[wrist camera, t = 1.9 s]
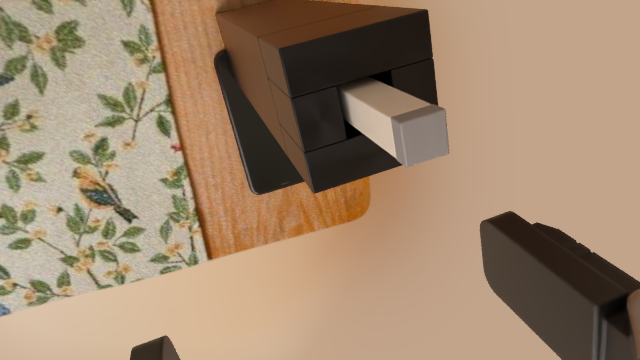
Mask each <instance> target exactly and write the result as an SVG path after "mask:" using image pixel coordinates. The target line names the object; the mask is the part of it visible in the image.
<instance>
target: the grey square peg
mask: <svg viewBox="0 0 640 360" xmlns="http://www.w3.org/2000/svg"><path fill="white" fill-rule="evenodd" d="M335 86H336V87H337V91H338V96H339V101H340V106H341V111H342V116H343V119H344V120H346V121H347V122H348V123H350V124H351V125H352V126H354V127H355V128H356V129H358V130H359V131H360V132H362V133H363V134H364V135H366V136H367V137H368V138H370V139H371V140H372V141H374V142H375V143H376V144H378V145H379V146H380V147H382V148H383V149H384V150H385V151H387V152H388V153H389V154H391V155H392V156H393V157H395V158H396V159H397V161H398V162H400V163H401V164H402V165H404V166H405V167H411V166H414V165H417V164H420V163H423V162H426V161H429V160H432V159H435V158H439V157H441V156H445V155H447V154H449V144H448V133H447V123H446V113H445V109H444V108H442V107H439V106H437V105H435V104H432V105H431V104H429V103H427V102H425V101H423V100H420V99H418V98H416V97H414V96H411V95H409V94H407V93H404V92H402V91H400V90H398V89H395V88H393V87H391V86H389V85H386V84H384V83H382V82H379V81H377V80H375V79H373V78H370V77H368V76H367V77H363V78H360V79H356V80H353V81H349V82H346V83H342V84H339V85H335Z"/></svg>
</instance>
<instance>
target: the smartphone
mask: <svg viewBox="0 0 640 360" xmlns="http://www.w3.org/2000/svg"><path fill="white" fill-rule="evenodd" d="M214 66H215V70H216V73H217V77H218V80H219V84H220V87H221V91H222V94H223V98H224V101H225V105H226V108H227V111H228V115H229V118H230V122H231V125H232V129H233V132H234V136H235V139H236V142H237V146H238V149H239V154H240V157H241V161H242V164H243V167H244V170H245V174H246V177H247V180H248V184H249V187H250V190H251V191H252V192H253V193H254V194H256V195H262V194H265V193H269V192H272V191H275V190H278V189H282V188H285V187H288V186H291V185H295V184H298V183H301V182H304V179H303V178H302V176H301V175H300V173H299V172H298V171H297V169H296V168H295V166H294V165H293V163H292V162H291V160H290V159H289V158H288V156H287V155H286V153H285V152H284V150H283V149H282V148H281V146H280V145H279V143H278V142H277V140H276V139H275V137H274V136H273V135H272V133H271V132H270V130H269V129H268V127H267V126H266V124H265V123H264V122H263V120H262V119H261V117H260V116H259V114H258V113H257V111H256V110H255V109H254V107H253V106H252V104H251V103H250V101H249V100H248V98H247V97H246V96H245V94H244V93H243V91H242V90H241V88H240V87H239V85H238V84H237V83H236V81H235V80H234V77H233V73H232V70H231V66H230V63H229V59H228V56H227V53H226V50H225V51H221V52H219V53H218V54H216V56H215V58H214Z"/></svg>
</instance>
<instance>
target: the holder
mask: <svg viewBox="0 0 640 360" xmlns="http://www.w3.org/2000/svg"><path fill="white" fill-rule="evenodd" d="M215 15H216V19H217V22H218V26H219V29H220V33H221V36H222V40H223V43H224V46H225V50H226V53H227V56H228V59H229V63H230V66H231V70H232V73H233V77H234V80H235V81H236V83H237V84H238V85H239V87H240V88H241V90H242V91H243V93H244V94H245V96H246V97H247V98H248V100H249V101H250V103H251V104H252V106H253V107H254V109H255V110H256V111H257V113H258V114H259V116H260V117H261V119H262V120H263V122H264V123H265V124H266V126H267V127H268V129H269V130H270V132H271V133H272V135H273V136H274V137H275V139H276V140H277V142H278V143H279V145H280V146H281V148H282V149H283V150H284V152H285V153H286V155H287V156H288V158H289V159H290V160H291V162H292V163H293V165H294V166H295V168H296V169H297V171H298V172H299V173H300V175H301V176H302V178H303V179H304V181H305V182H306V183H307V185H308V186H309V188H310V189H311V191H312V192H313V193H314V194H315V193H318V192H321V191H324V190H327V189H331V188H334V187H337V186H340V185H343V184H346V183H349V182H352V181H355V180H358V179H361V178H364V177H367V176H371V175H373V174H377V173H380V172H383V171H386V170H389V169H392V168H395V167H398V166H401V165H402V164H401V163H400V162H398V161H397V159H396V158H395V157H393V156H392V155H391V154H389V153H388V152H387V151H385V150H384V149H383V148H382V147H380V146H379V145H378V144H376V143H375V142H374V141H372V140H371V139H370V138H368V137H367V136H366V135H364V134H363V133H362V132H360V131H359V130H358V129H356V128H355V127H354V126H352V125H351V124H350V123H348V122H347V121H346V120H344V119H343V116H342V111H341V106H340V101H339V96H338V91H337V87H336V86H335V85H339V84H342V83H346V82H349V81H353V80H356V79H360V78H363V77H367V76H368V77H370V78H373V79H375V80H377V81H379V82H382V83H384V84H386V85H389V86H391V87H393V88H395V89H398V90H400V91H402V92H404V93H407V94H409V95H411V96H414V97H416V98H418V99H420V100H423V101H425V102H427V103H429V104H431V105H432V104H435V105H437V106H438V99H437V90H436V80H435V71H434V61H433V58H432V57H433V53H432V44H431V34H430V24H429V16H428V15H429V14H428V10H426V9H412V8H400V7H387V6H375V5H361V4H349V3H335V2H322V1H308V0H270V1H265V2H261V3H257V4H253V5H249V6H245V7H241V8H237V9H233V10H229V11H225V12H220V13H216V14H215Z"/></svg>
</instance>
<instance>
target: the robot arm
mask: <svg viewBox="0 0 640 360" xmlns="http://www.w3.org/2000/svg"><path fill="white" fill-rule="evenodd" d="M480 235H481V246H482V256H483V267H484V273H485V276H486V279H487V281H488V283H489V285H490V287H491V288H492V290H493V291H494V292H495V293H496V295H497V296H498V297H500V298H501V299H502V300H503V302H504V303H506V304H507V305H508V306H509V307H510V308H511V309H512V310H513V311H514V312H515V313H516V314H517V315H518V316H519V317H520V318H521V319H522V320H523V321H524V322H525V323H526V324H527V325H528V326H529V327H530V328H531V329H532V330H533V331H534V332H535V333H536V334H537V335H538V336H539V337H540V338H541V339H542V340H543V341H544V342H545V343H546V344H547V345H548V346H549V347H550V348H551V349H552V350H553V351H554V352H555V353H556V354H557V355H558V356H559V357H560V358H561V359H562V360H640V282H639V281H637V280H636V279H634V278H633V277H631V276H630V275H628V274H627V273H625V272H624V271H622V270H620V269H619V268H617V267H616V266H614V265H613V264H611V263H610V262H608V261H607V260H605V259H603V258H602V257H600V256H599V255H597V254H596V253H594V252H593V253H592V252H591V251H590V249H588V248H587V247H585V246H584V245H582V244H581V243H577V242H576V240H574V239H573V238H571V237H570V236H568V235H567V234H565V233H564V232H562V231H561V230H559V229H556V228H553V227H550V226H546V225H543V224H540V223H534V224H530V223H529V222H527V221H526V220H524V219H523V218H521V217H520V216H518V215H517V214H515V213H514V212H511V211H509V212H505V213H503V214H500V215H497V216H495V217H492V218H489V219H487V220H483V221H482V222H481V224H480ZM130 360H180V358H179V356H178V354H177V352H176V350H175V348H174V346H173V344H172V342H171V340H170V339H169V337H168V336H163V337H160V338H157V339H154V340H152V341H149V342H147V343H143V344H141V345H138V346H135V347H133V348H132V351H131V357H130Z"/></svg>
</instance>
